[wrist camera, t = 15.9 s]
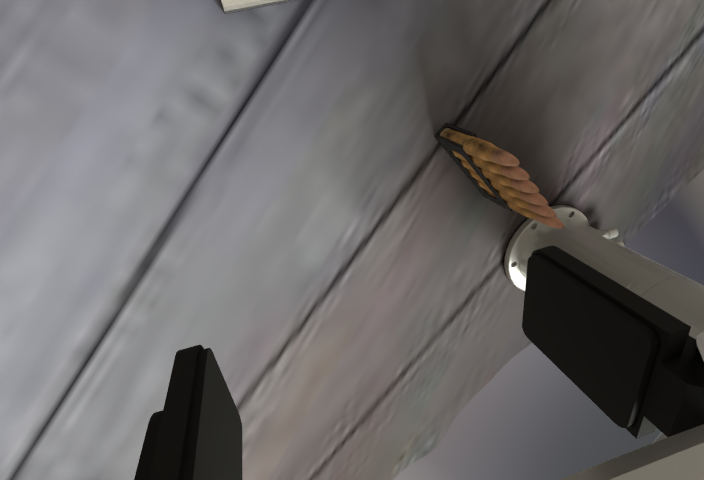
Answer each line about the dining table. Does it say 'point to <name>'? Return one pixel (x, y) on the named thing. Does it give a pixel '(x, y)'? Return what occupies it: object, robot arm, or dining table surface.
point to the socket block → (247, 4)
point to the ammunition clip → (496, 174)
